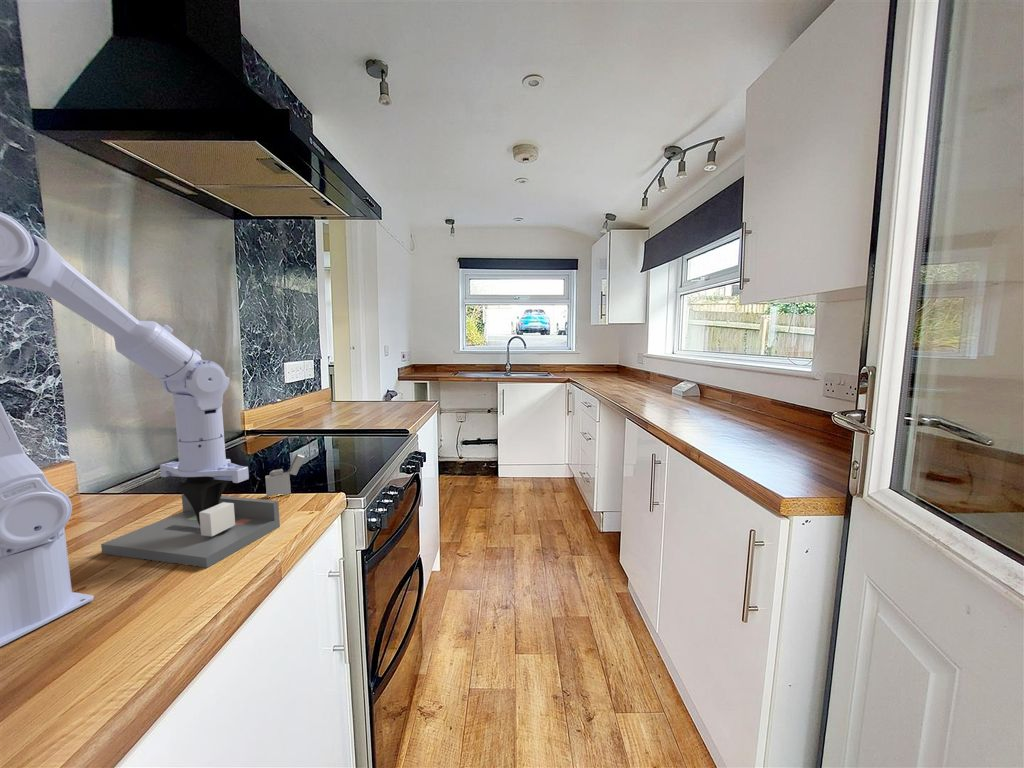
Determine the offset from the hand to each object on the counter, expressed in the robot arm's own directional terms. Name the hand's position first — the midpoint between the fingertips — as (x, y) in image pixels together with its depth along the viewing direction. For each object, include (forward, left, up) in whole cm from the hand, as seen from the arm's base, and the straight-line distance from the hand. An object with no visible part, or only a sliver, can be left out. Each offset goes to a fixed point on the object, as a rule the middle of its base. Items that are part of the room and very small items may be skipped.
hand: (208, 523), depth 63 cm
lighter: (+20, +3, -3) cm, 21 cm away
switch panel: (0, +2, -3) cm, 4 cm away
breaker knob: (0, -2, -1) cm, 2 cm away
